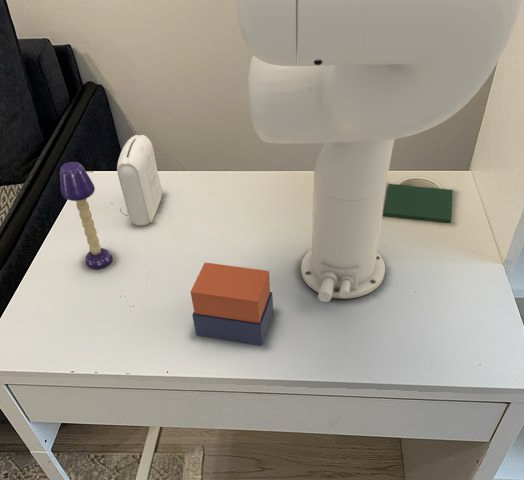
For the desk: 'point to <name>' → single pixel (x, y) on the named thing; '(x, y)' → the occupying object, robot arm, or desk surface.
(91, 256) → the toy lamp
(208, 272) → the orange rectangular brick
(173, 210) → the desk surface
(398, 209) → the mat
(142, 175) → the photo printer
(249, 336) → the navy blue rectangular block
